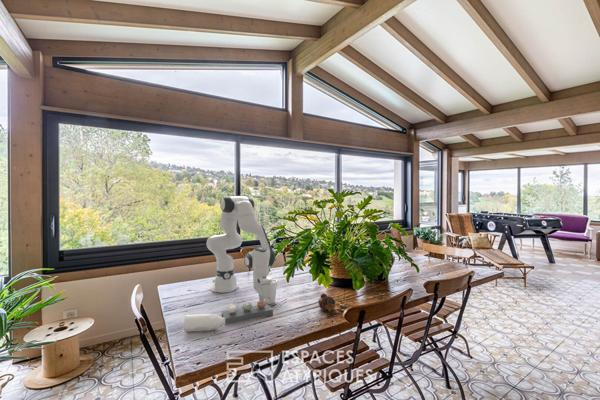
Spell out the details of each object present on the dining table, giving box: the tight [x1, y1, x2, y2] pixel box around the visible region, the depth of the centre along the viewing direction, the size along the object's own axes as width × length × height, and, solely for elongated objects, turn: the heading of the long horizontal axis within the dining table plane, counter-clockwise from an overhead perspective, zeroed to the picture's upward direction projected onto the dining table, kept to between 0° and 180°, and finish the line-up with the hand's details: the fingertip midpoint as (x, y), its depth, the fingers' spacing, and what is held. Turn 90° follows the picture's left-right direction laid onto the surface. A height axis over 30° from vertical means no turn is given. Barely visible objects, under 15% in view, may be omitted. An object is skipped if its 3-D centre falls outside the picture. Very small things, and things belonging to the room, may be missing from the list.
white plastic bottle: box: [183, 313, 225, 333], centre depth 140 cm, size 8×19×8 cm, turn 95°
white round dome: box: [227, 305, 238, 315], centre depth 152 cm, size 5×5×5 cm
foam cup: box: [264, 278, 278, 305], centre depth 176 cm, size 10×9×13 cm
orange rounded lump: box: [256, 300, 266, 309], centre depth 159 cm, size 5×5×5 cm
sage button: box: [242, 302, 253, 312], centre depth 156 cm, size 5×5×5 cm
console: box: [221, 303, 274, 326], centre depth 156 cm, size 10×26×3 cm, turn 116°
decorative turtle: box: [318, 292, 336, 313], centre depth 163 cm, size 10×15×8 cm, turn 21°
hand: (261, 301), depth 159 cm, fingers closed
